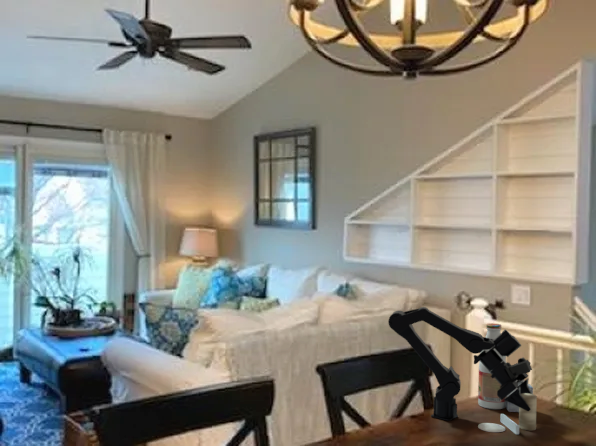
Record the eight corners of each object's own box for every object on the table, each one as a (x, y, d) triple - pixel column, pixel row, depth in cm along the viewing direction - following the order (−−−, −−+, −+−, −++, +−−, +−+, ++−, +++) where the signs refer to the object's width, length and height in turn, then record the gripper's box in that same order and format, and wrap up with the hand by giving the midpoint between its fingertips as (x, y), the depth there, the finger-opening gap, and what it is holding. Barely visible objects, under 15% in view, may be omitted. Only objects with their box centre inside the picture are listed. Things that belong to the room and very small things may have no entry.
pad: (473, 428, 204) (473, 427, 204) (484, 422, 210) (484, 421, 210) (498, 434, 199) (498, 433, 199) (509, 427, 205) (509, 426, 205)
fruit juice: (491, 411, 222) (493, 327, 222) (472, 403, 231) (473, 323, 230) (512, 407, 227) (514, 325, 226) (492, 400, 235) (494, 321, 235)
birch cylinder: (516, 427, 205) (516, 395, 205) (522, 424, 209) (523, 392, 209) (532, 431, 202) (533, 398, 202) (538, 427, 206) (539, 395, 206)
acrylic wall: (500, 421, 211) (500, 413, 211) (503, 421, 211) (503, 413, 211) (515, 434, 199) (516, 426, 199) (519, 434, 199) (519, 426, 199)
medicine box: (529, 409, 225) (530, 383, 225) (532, 413, 221) (533, 387, 221) (505, 408, 226) (506, 382, 226) (508, 412, 222) (508, 386, 222)
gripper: (508, 356, 199) (546, 398, 194) (522, 345, 215) (557, 384, 210) (481, 378, 203) (518, 420, 198) (496, 366, 219) (530, 405, 214)
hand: (532, 406), depth 205 cm, fingers open, 8 cm apart
